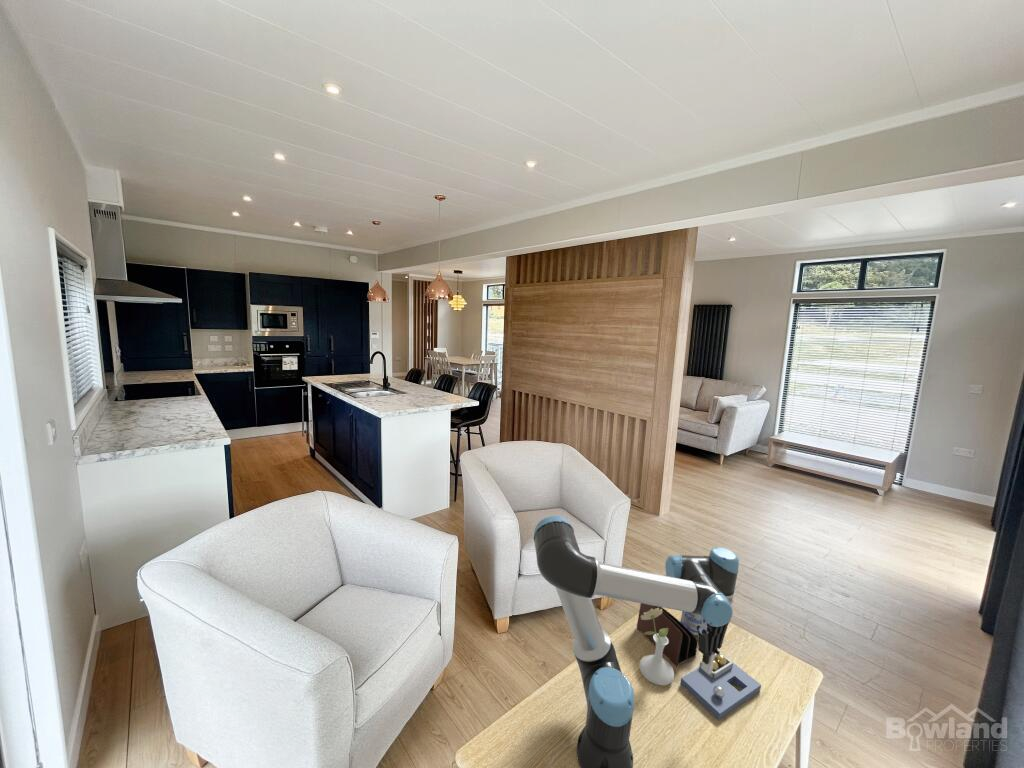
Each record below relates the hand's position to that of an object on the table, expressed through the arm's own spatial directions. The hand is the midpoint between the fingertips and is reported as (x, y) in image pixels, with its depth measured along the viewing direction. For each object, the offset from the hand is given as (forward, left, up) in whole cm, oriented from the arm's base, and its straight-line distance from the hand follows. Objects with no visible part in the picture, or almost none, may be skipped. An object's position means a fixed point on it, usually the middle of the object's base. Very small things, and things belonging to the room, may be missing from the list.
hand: (706, 670), depth 127 cm
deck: (+15, +3, -16) cm, 22 cm away
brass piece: (+16, +7, -12) cm, 21 cm away
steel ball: (+9, 0, -12) cm, 15 cm away
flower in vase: (-1, +17, -16) cm, 24 cm away
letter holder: (+14, +25, -17) cm, 33 cm away
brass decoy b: (+21, +7, -12) cm, 25 cm away
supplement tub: (+30, +25, -16) cm, 43 cm away
